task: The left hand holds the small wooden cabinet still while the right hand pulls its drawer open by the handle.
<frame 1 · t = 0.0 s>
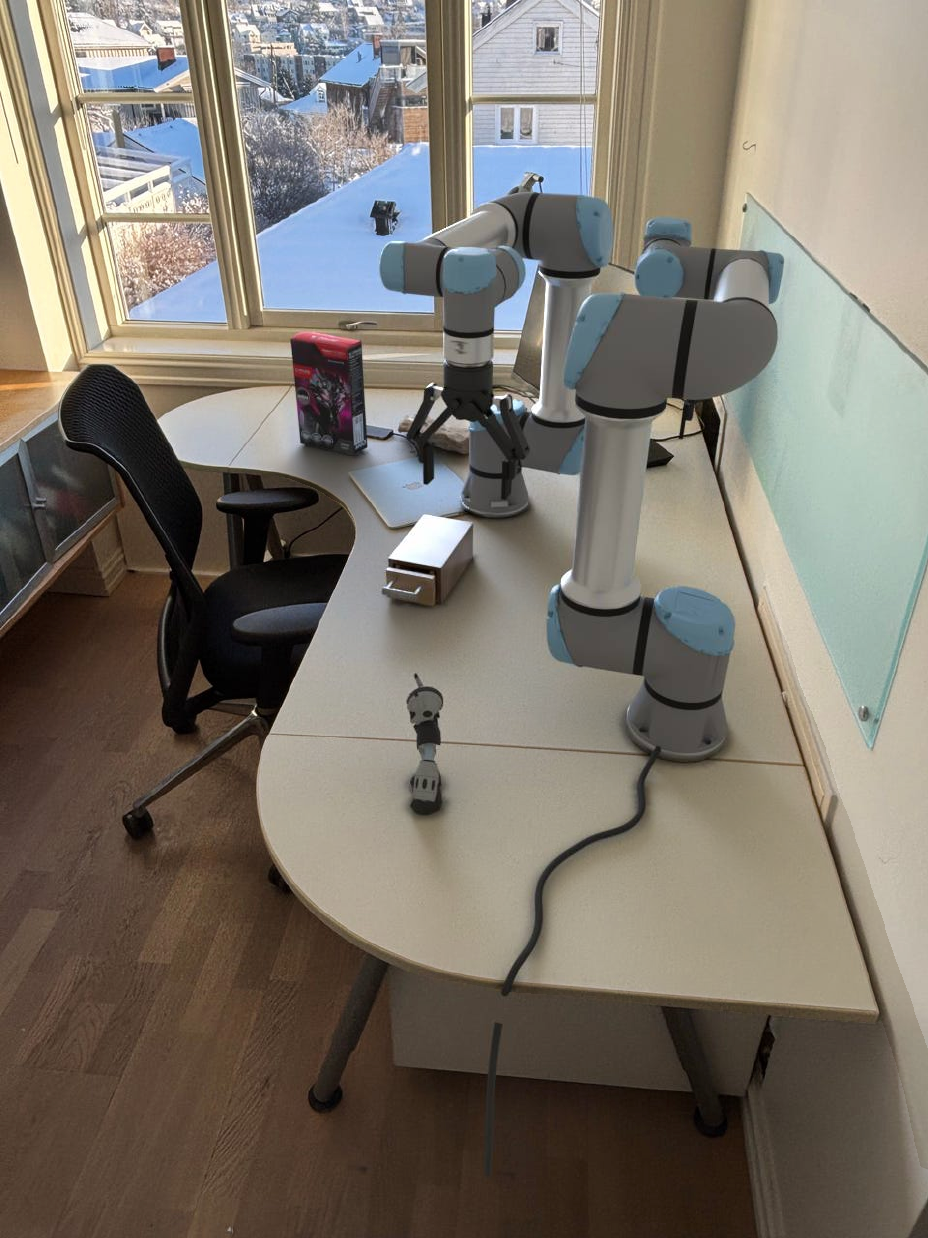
left hand: (466, 488, 150), 28 cm above the table, tool pointing down, fingers open, 13 cm apart
right hand: (643, 432, 170), 28 cm above the table, tool pointing down, fingers open, 13 cm apart
drawer: (421, 572, 175), point 4 cm above the table, slide at 1.4 cm
robot: (426, 794, 131), on the table
stone: (435, 443, 235), on the table
cabinet: (432, 574, 181), on the table
graphics card box: (333, 446, 233), on the table
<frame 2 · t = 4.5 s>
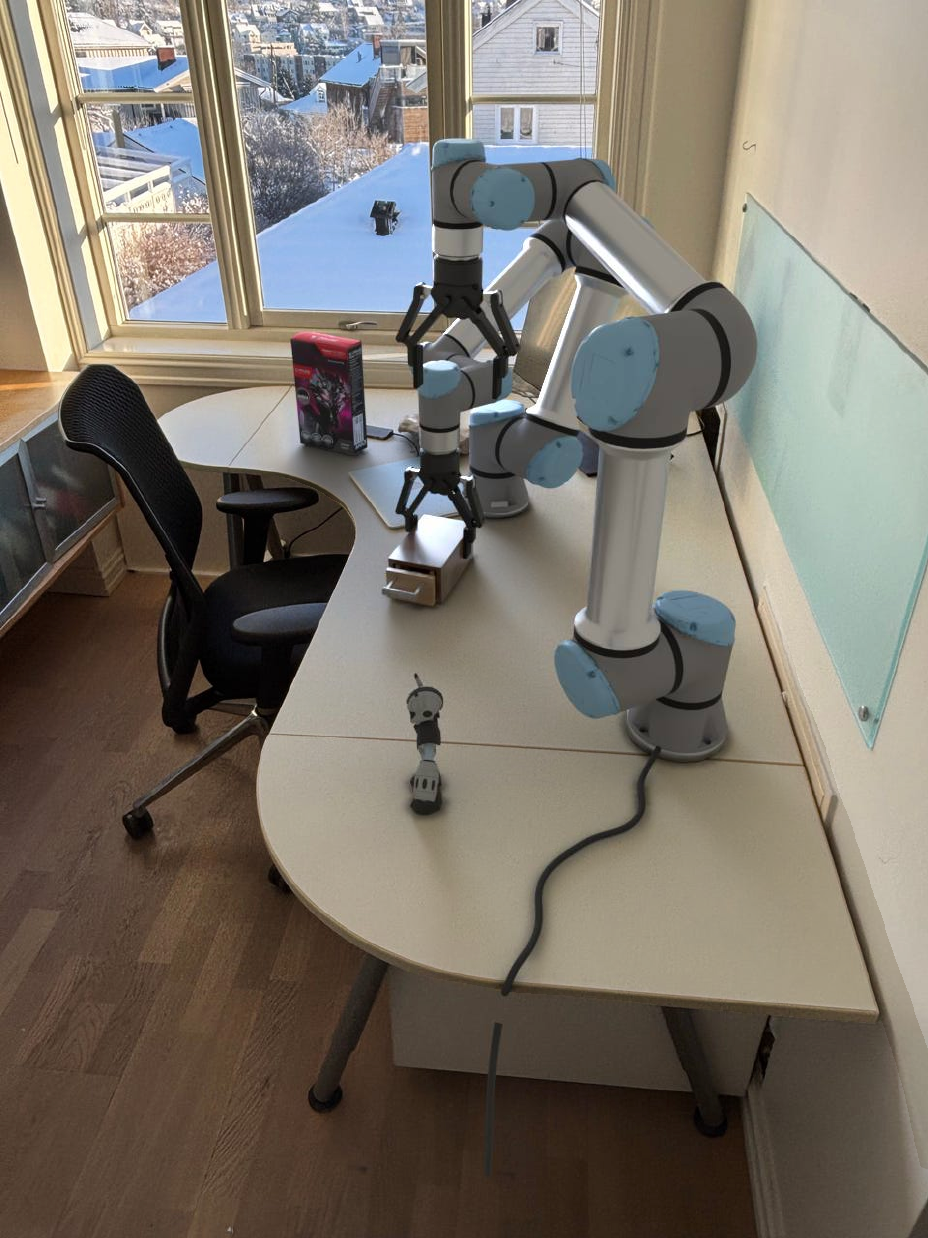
left hand: (440, 551, 183), 3 cm above the table, tool pointing down, fingers closed on cabinet, 10 cm apart
right hand: (457, 391, 151), 41 cm above the table, tool pointing down, fingers open, 13 cm apart
cabinet: (432, 574, 181), on the table, touching left hand
everything else where it was.
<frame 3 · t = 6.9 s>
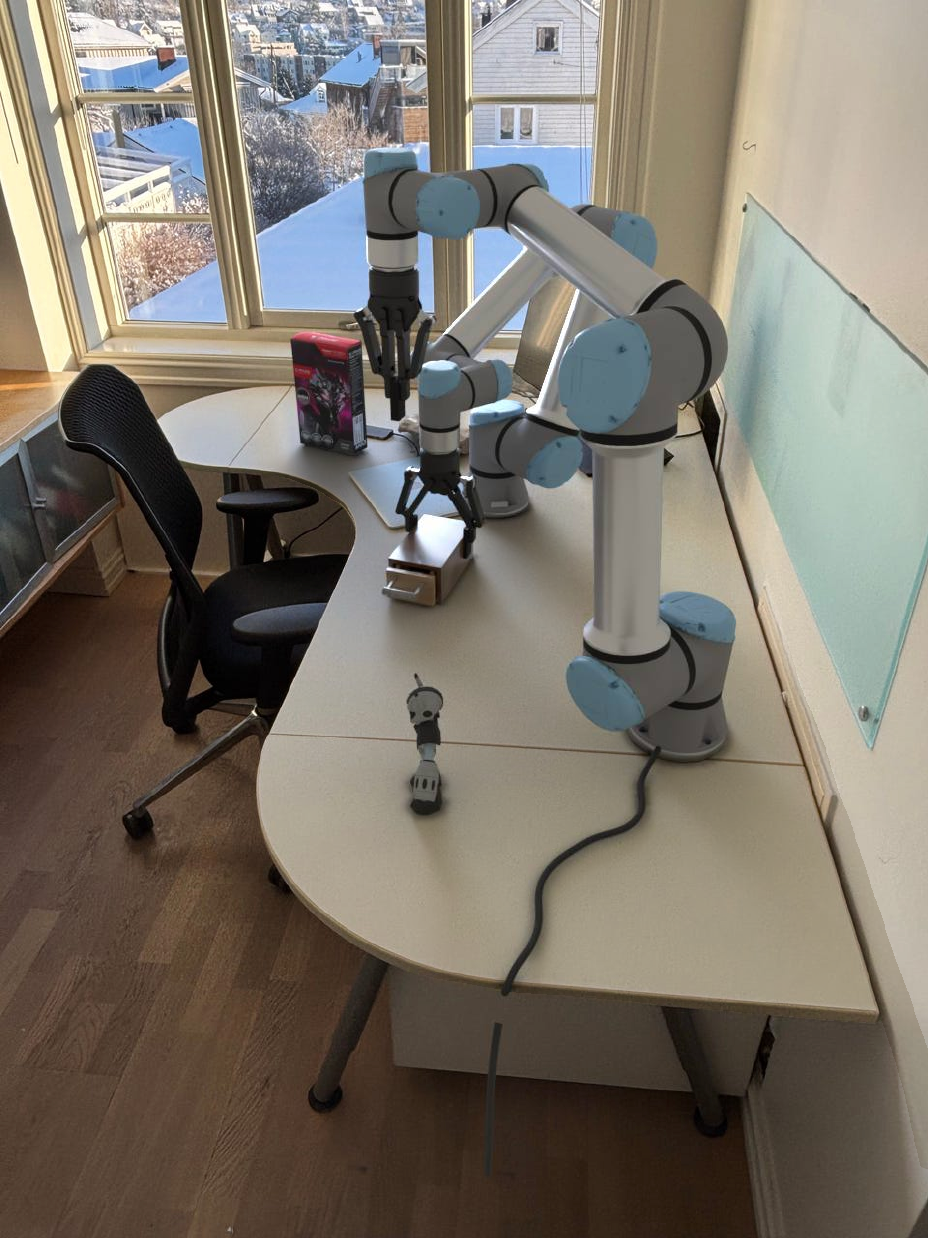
left hand: (440, 550, 183), 3 cm above the table, tool pointing down, fingers closed on cabinet, 10 cm apart
right hand: (398, 417, 149), 38 cm above the table, tool pointing down, fingers closed
cabinet: (432, 574, 181), on the table, touching left hand
everything else where it was.
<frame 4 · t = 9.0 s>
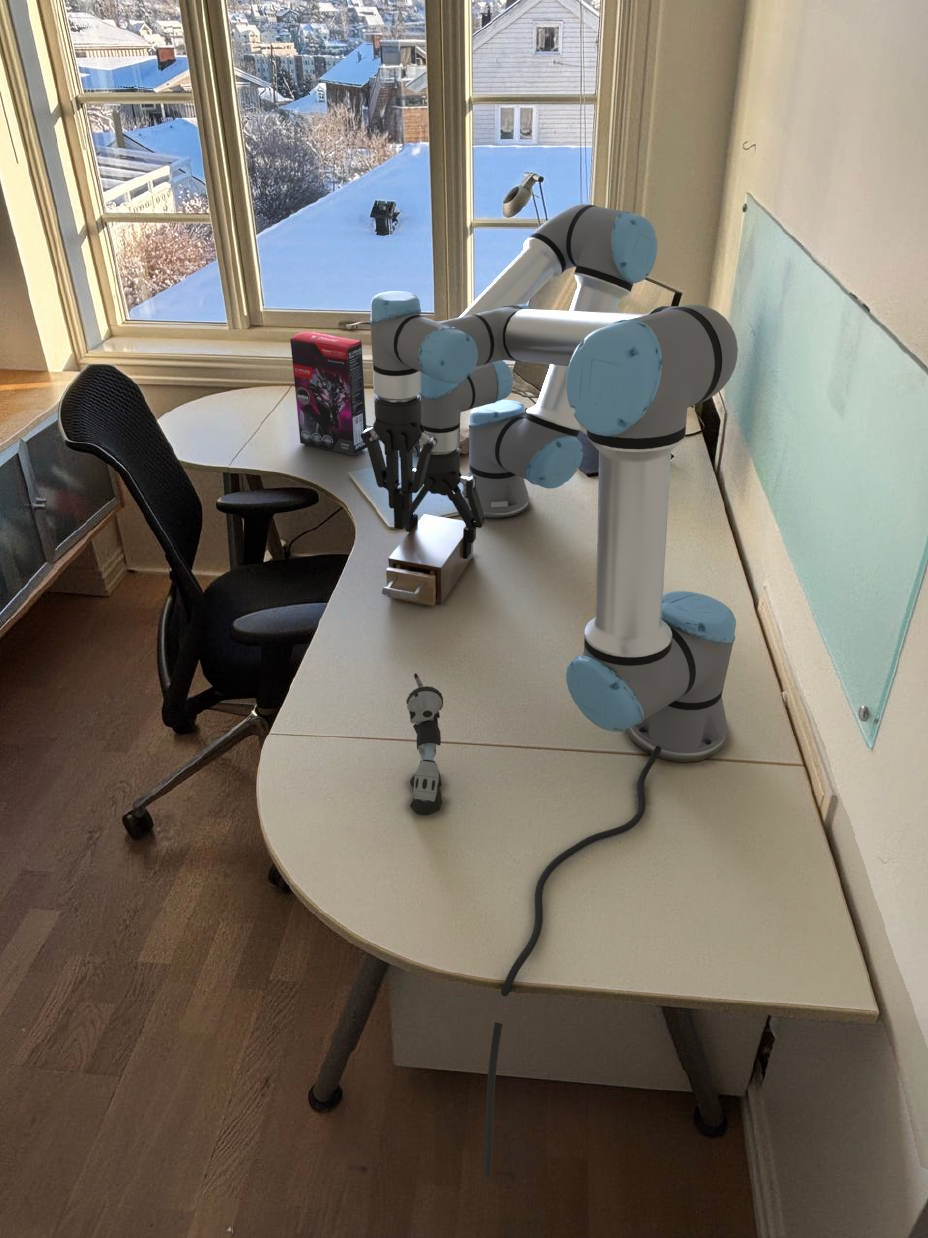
left hand: (440, 550, 183), 3 cm above the table, tool pointing down, fingers closed on cabinet, 10 cm apart
right hand: (401, 525, 160), 18 cm above the table, tool pointing down, fingers closed
cabinet: (432, 574, 181), on the table, touching left hand
everything else where it was.
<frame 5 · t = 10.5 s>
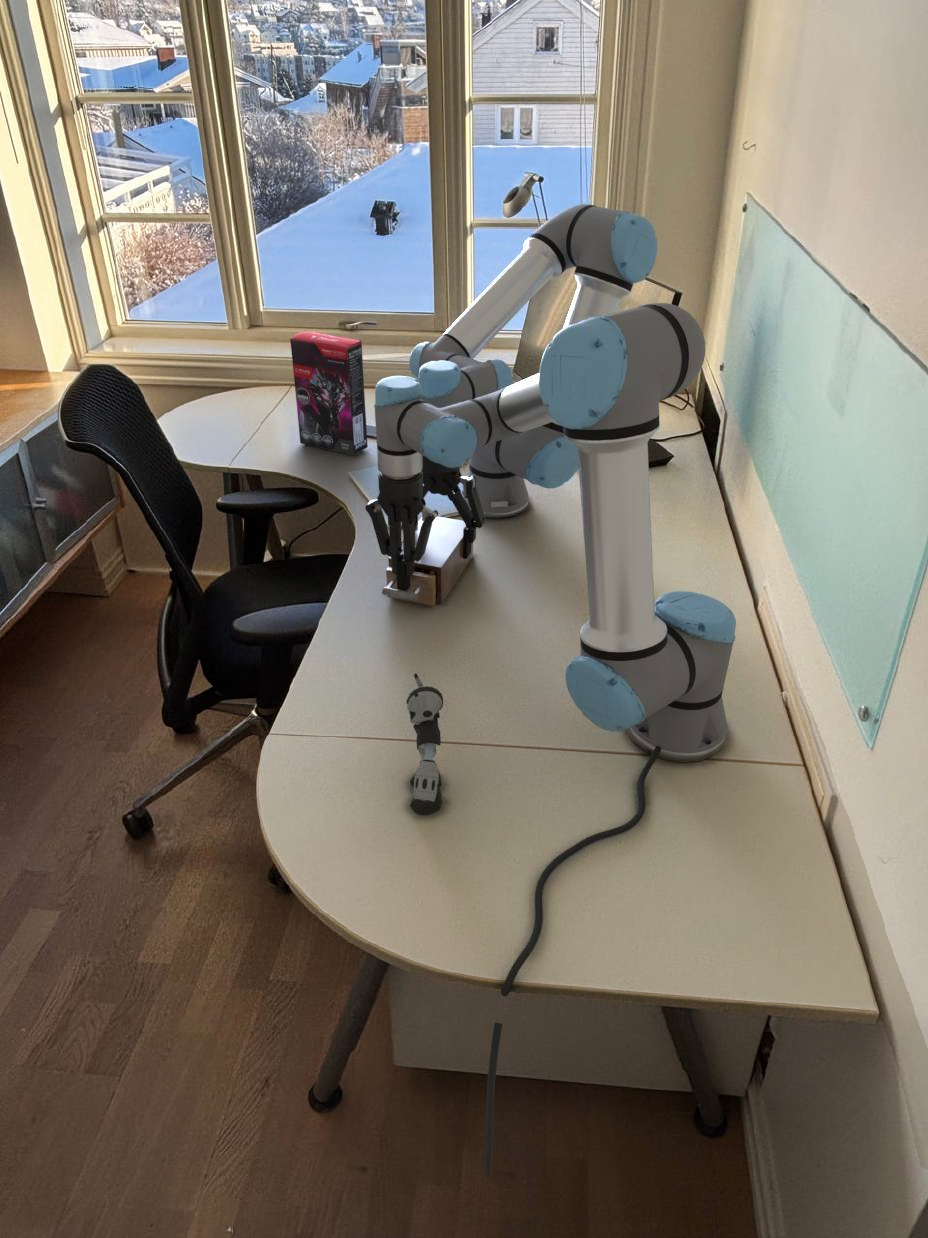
left hand: (440, 550, 183), 3 cm above the table, tool pointing down, fingers closed on cabinet, 10 cm apart
right hand: (403, 589, 167), 5 cm above the table, tool pointing down, fingers closed
drawer: (421, 571, 175), point 4 cm above the table, slide at 1.4 cm, touching right hand
cabinet: (432, 574, 181), on the table, touching left hand
everything else where it was.
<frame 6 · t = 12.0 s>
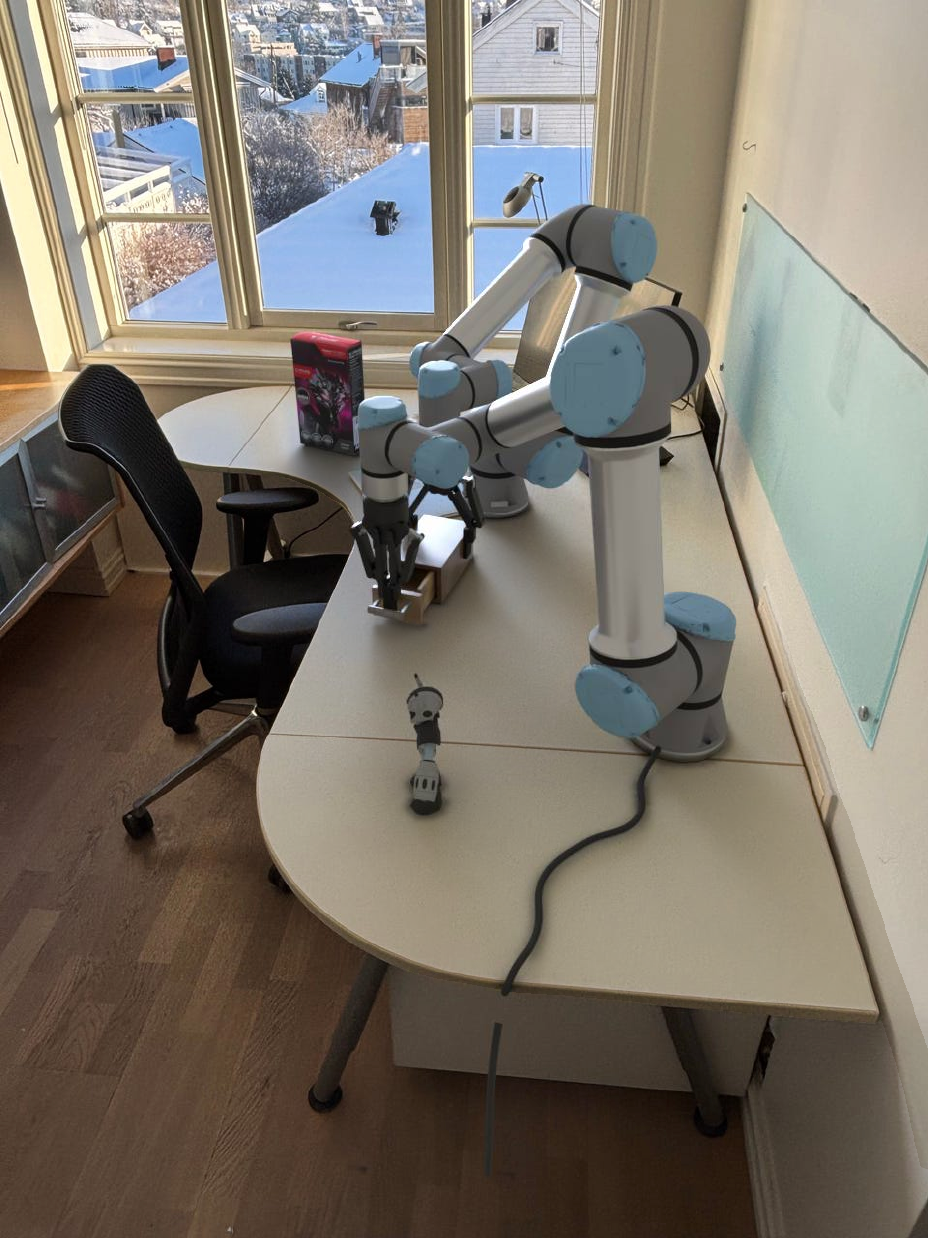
left hand: (440, 551, 183), 3 cm above the table, tool pointing down, fingers closed on cabinet, 10 cm apart
right hand: (390, 613, 163), 4 cm above the table, tool pointing down, fingers closed
drawer: (408, 589, 169), point 4 cm above the table, slide at 7.9 cm, touching right hand
cabinet: (432, 574, 181), on the table, touching left hand
everything else where it was.
when the left hand's fingers open (3 cm above the table, at t = 13.7 s): cabinet stays where it is, on the table.
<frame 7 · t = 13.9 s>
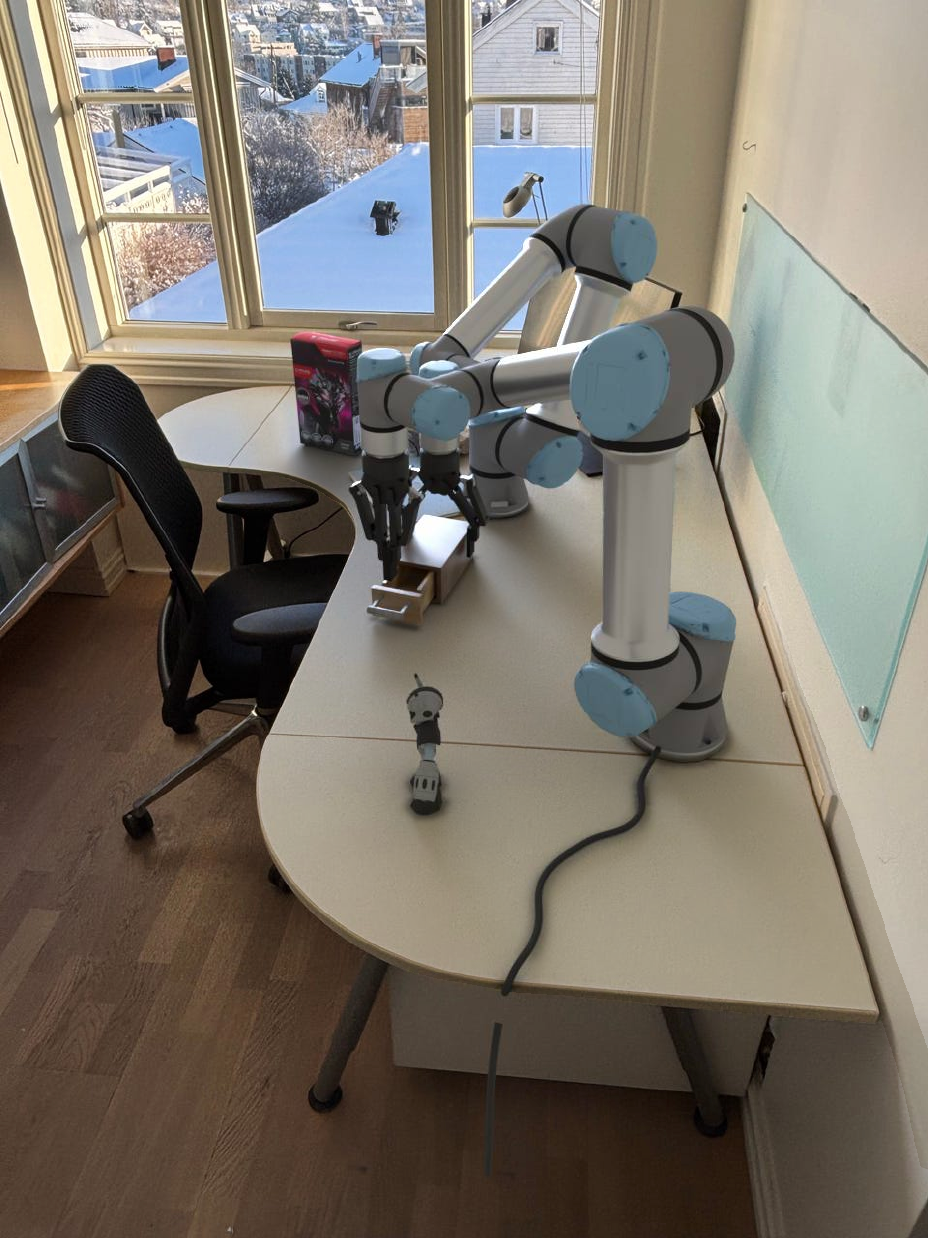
left hand: (440, 549, 183), 3 cm above the table, tool pointing down, fingers open, 12 cm apart
right hand: (390, 576, 159), 11 cm above the table, tool pointing down, fingers closed
drawer: (408, 589, 169), point 4 cm above the table, slide at 7.9 cm
cabinet: (432, 575, 181), on the table
everything else where it was.
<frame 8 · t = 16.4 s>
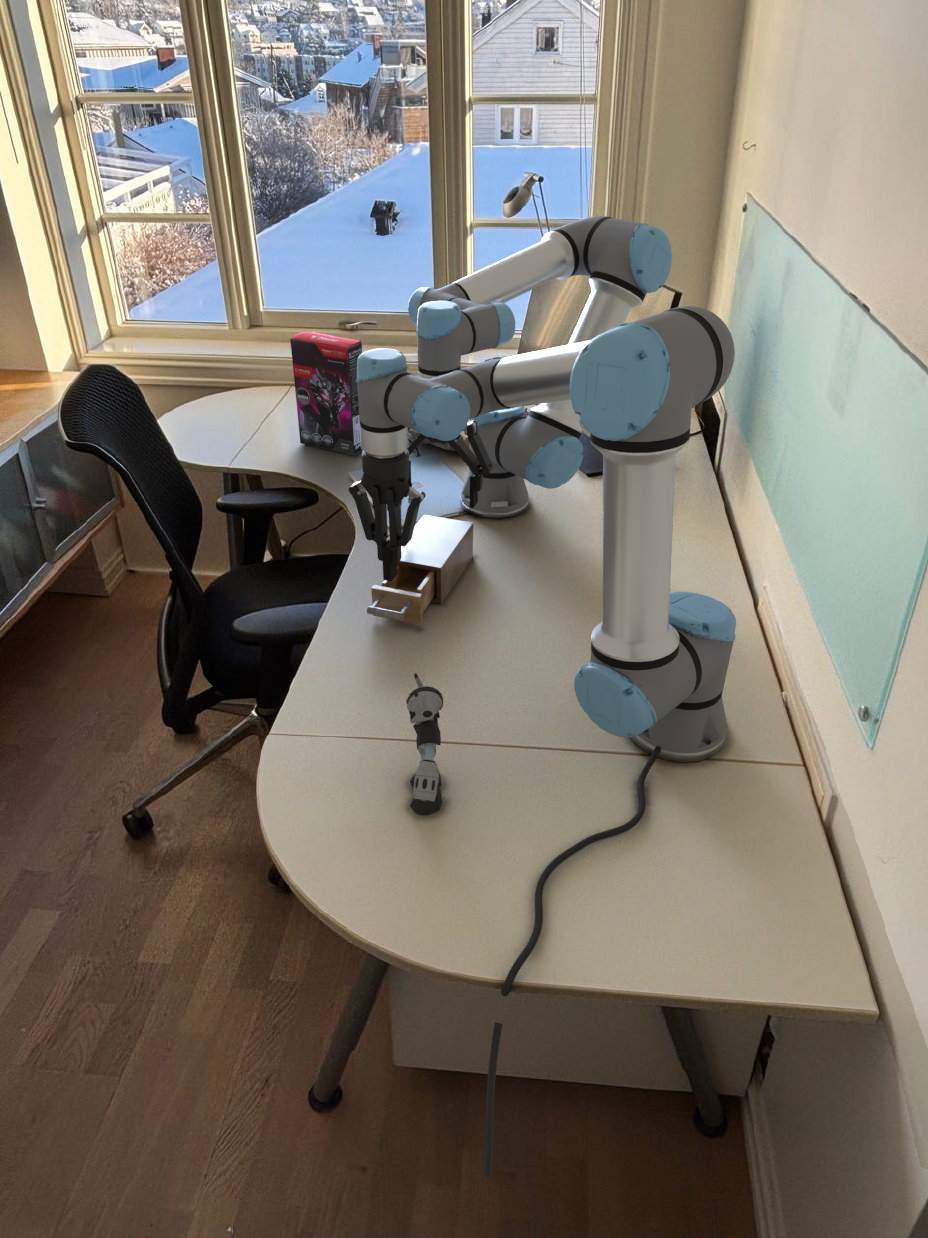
left hand: (440, 499, 177), 14 cm above the table, tool pointing down, fingers open, 13 cm apart
right hand: (390, 576, 159), 11 cm above the table, tool pointing down, fingers closed
nothing on the table moved.
at the end: drawer slide at 7.9 cm; cabinet tilted 0°; cabinet never tilted more than 1° during the clip; cabinet moved 0.1 cm from its start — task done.
